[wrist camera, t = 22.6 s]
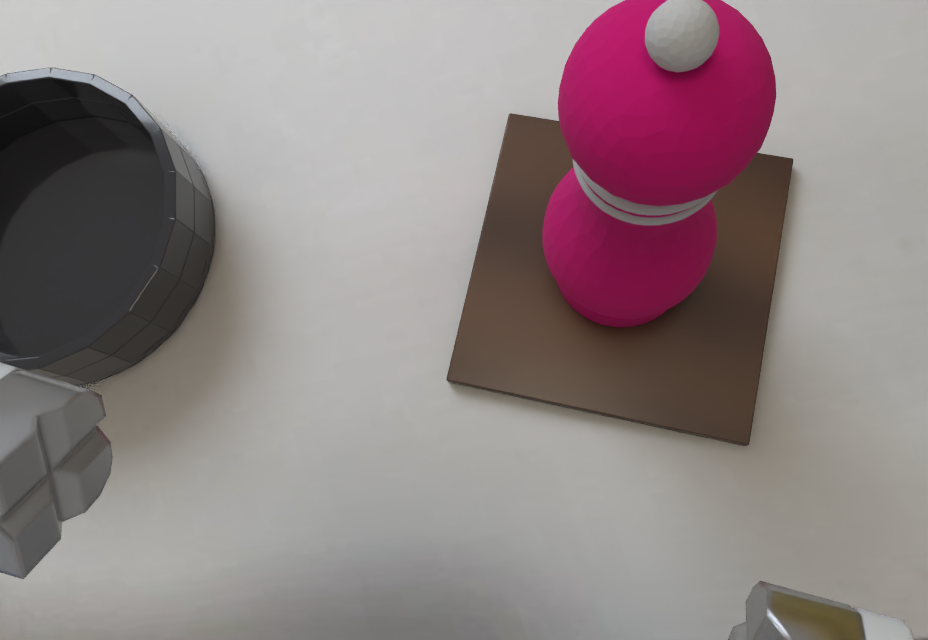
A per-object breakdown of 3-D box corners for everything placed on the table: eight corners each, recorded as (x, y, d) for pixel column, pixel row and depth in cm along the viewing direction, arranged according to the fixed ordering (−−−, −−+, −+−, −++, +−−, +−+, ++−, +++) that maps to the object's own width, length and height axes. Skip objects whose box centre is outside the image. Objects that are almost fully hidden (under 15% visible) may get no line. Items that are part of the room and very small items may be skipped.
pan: (164, 415, 40) (116, 404, 35) (-102, 353, 42) (-177, 335, 38) (249, 136, 43) (215, 93, 38) (-2, 92, 45) (-62, 47, 41)
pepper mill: (725, 296, 37) (912, 67, 18) (586, 364, 37) (622, 208, 18) (650, 169, 39) (746, -164, 20) (517, 233, 39) (483, -36, 20)
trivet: (746, 446, 36) (749, 445, 36) (447, 382, 38) (446, 380, 38) (790, 163, 39) (793, 158, 39) (509, 118, 41) (509, 112, 41)
